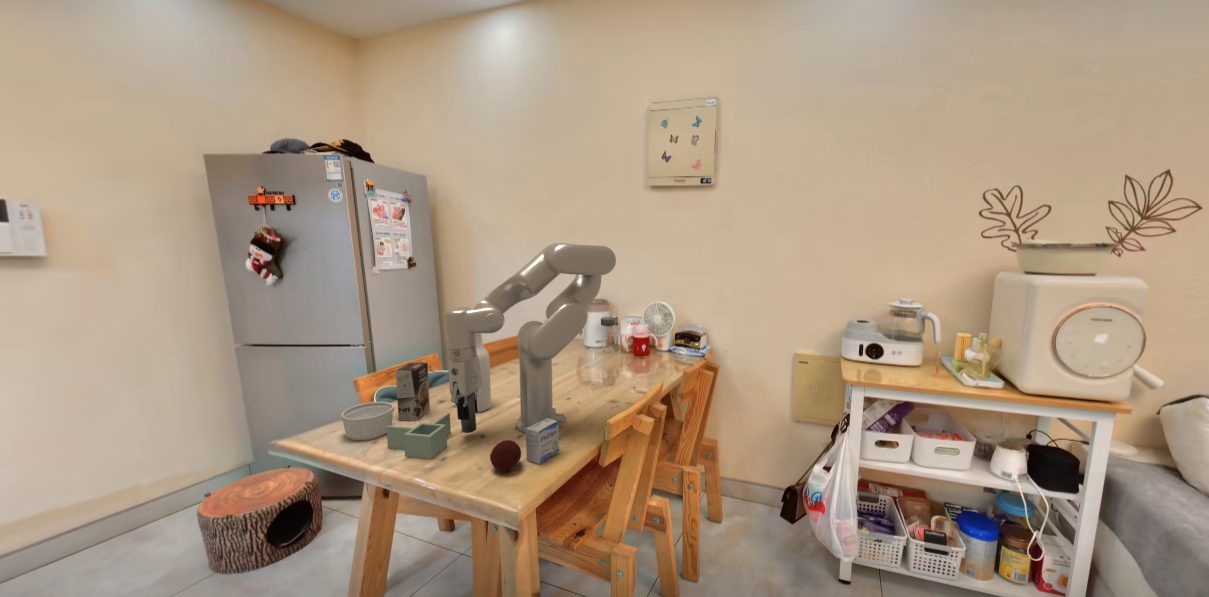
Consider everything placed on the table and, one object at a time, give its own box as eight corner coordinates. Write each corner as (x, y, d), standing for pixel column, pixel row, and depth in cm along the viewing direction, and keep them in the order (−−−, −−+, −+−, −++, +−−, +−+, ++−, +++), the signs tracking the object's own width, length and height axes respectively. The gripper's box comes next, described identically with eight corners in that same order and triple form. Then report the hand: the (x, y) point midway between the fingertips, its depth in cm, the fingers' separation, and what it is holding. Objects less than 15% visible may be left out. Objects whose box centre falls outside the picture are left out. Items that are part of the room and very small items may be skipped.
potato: (522, 457, 109) (521, 431, 108) (520, 475, 101) (519, 447, 100) (492, 459, 108) (492, 433, 107) (488, 477, 100) (487, 449, 99)
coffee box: (418, 421, 132) (415, 370, 130) (397, 420, 132) (394, 370, 130) (430, 409, 141) (428, 362, 139) (411, 409, 141) (408, 362, 139)
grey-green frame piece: (461, 433, 123) (460, 413, 122) (431, 459, 108) (429, 436, 108) (414, 429, 126) (413, 410, 125) (379, 453, 111) (377, 431, 110)
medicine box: (539, 465, 106) (538, 431, 105) (525, 460, 108) (525, 427, 107) (559, 452, 112) (558, 420, 111) (546, 448, 115) (545, 417, 114)
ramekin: (366, 446, 116) (364, 421, 115) (331, 438, 120) (329, 415, 119) (405, 427, 128) (403, 404, 127) (371, 420, 132) (370, 399, 132)
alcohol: (481, 414, 137) (477, 322, 133) (458, 411, 140) (454, 321, 136) (496, 405, 145) (493, 318, 141) (474, 402, 148) (470, 316, 144)
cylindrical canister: (479, 427, 122) (475, 386, 121) (472, 433, 119) (468, 391, 117) (466, 426, 123) (462, 386, 121) (459, 432, 119) (455, 391, 118)
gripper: (459, 361, 109) (465, 429, 111) (489, 345, 125) (493, 404, 128) (432, 361, 110) (439, 428, 113) (465, 344, 127) (470, 403, 129)
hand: (468, 415), depth 120 cm, fingers closed on cylindrical canister, 4 cm apart
